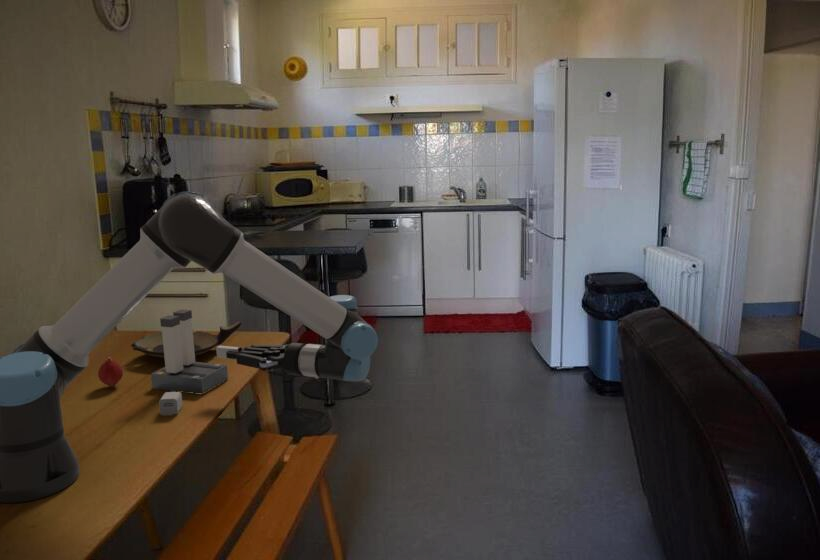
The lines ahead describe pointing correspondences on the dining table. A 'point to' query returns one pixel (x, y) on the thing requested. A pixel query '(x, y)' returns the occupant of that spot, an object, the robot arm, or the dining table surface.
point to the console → (190, 377)
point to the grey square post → (172, 343)
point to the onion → (110, 372)
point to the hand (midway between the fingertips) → (218, 351)
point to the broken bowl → (201, 340)
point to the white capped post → (186, 336)
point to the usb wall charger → (170, 403)
